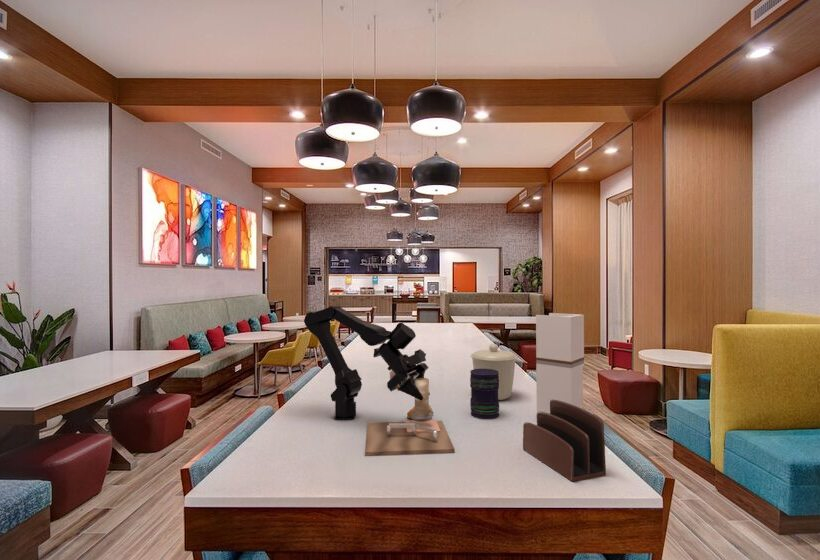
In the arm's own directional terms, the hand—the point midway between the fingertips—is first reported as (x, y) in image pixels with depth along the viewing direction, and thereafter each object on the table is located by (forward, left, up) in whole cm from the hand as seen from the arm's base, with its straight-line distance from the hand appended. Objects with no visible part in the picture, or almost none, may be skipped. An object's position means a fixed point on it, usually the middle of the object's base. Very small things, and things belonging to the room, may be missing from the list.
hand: (425, 397), depth 129 cm
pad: (-1, +1, -9) cm, 9 cm away
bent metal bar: (-5, -9, -9) cm, 14 cm away
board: (-6, -5, -10) cm, 13 cm away
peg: (-1, +1, -7) cm, 7 cm away
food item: (-3, +55, -11) cm, 56 cm away
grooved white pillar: (+45, +4, -10) cm, 46 cm away
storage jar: (+22, +14, -11) cm, 28 cm away
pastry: (0, +15, -11) cm, 18 cm away
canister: (+31, +35, -11) cm, 48 cm away
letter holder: (+32, -24, -11) cm, 42 cm away
